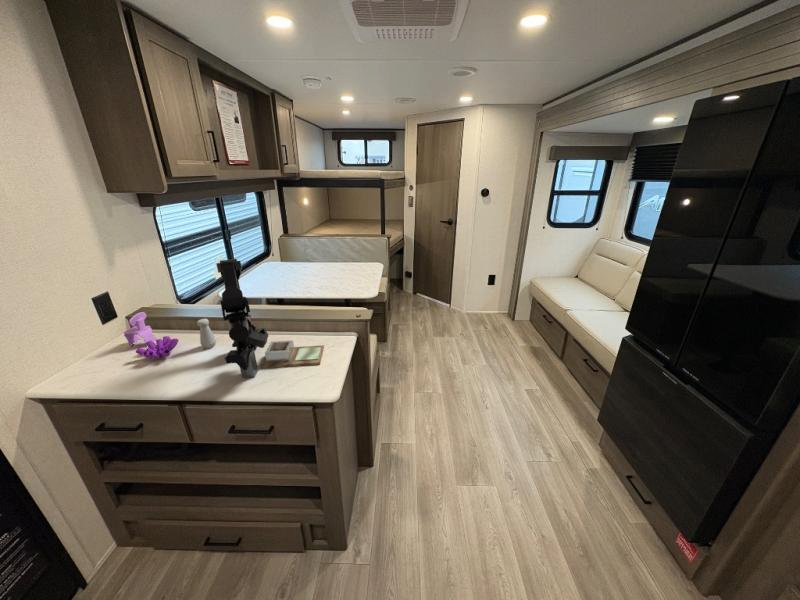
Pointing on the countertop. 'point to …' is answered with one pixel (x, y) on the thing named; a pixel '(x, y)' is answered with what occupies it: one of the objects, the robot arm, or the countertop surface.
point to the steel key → (250, 365)
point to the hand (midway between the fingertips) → (248, 365)
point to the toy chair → (139, 329)
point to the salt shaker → (206, 334)
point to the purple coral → (158, 348)
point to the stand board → (300, 357)
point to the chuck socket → (279, 351)
